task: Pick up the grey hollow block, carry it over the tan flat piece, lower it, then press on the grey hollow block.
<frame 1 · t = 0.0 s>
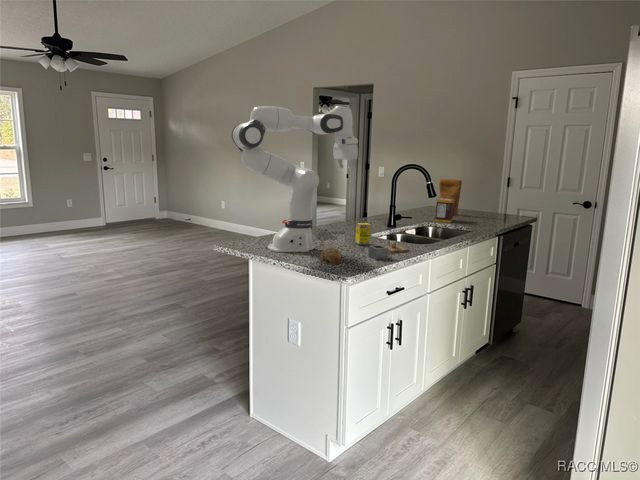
hand: (345, 168, 228), 39 cm above the worktop, tool pointing down, fingers open, 8 cm apart
grey hollow block: (377, 257, 212), on the worktop
supplement box: (362, 244, 240), on the worktop
tan flat piece: (393, 250, 229), on the worktop
pancake mix bag: (447, 214, 364), on the worktop
bread roll: (331, 262, 202), on the worktop
supplement box 2: (444, 220, 333), on the worktop
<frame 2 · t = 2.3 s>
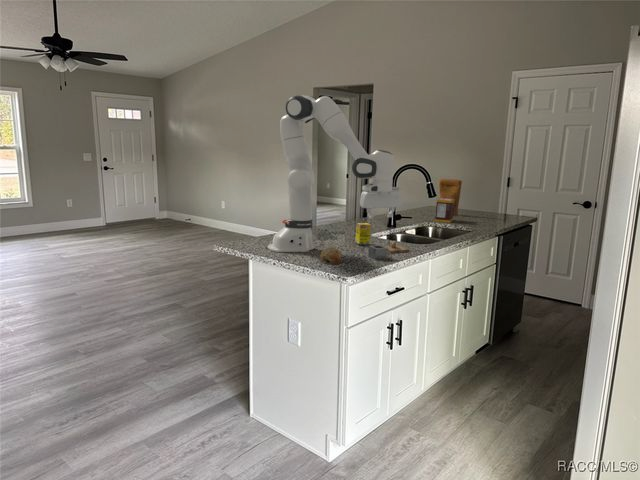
hand: (380, 217, 208), 19 cm above the worktop, tool pointing down, fingers open, 8 cm apart
nothing on the worktop moved.
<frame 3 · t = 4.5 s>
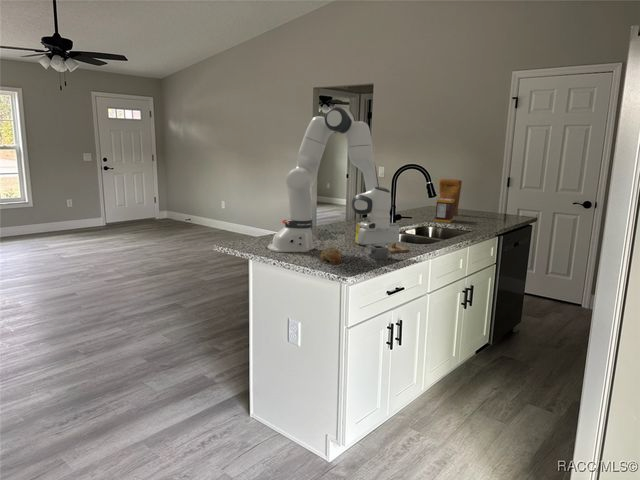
hand: (378, 253, 212), 2 cm above the worktop, tool pointing down, fingers closed on grey hollow block, 6 cm apart
grey hollow block: (377, 257, 212), on the worktop, touching gripper
everything else where it was.
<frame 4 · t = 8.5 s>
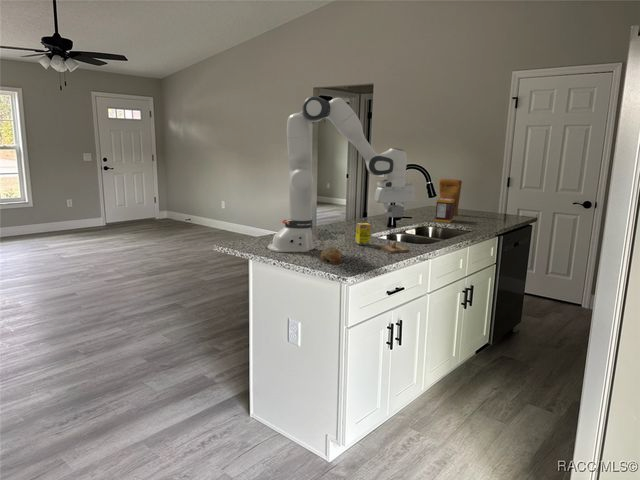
hand: (394, 211, 222), 20 cm above the worktop, tool pointing down, fingers closed on grey hollow block, 6 cm apart
grey hollow block: (394, 216, 222), point 18 cm above the worktop, touching gripper
everything else where it was.
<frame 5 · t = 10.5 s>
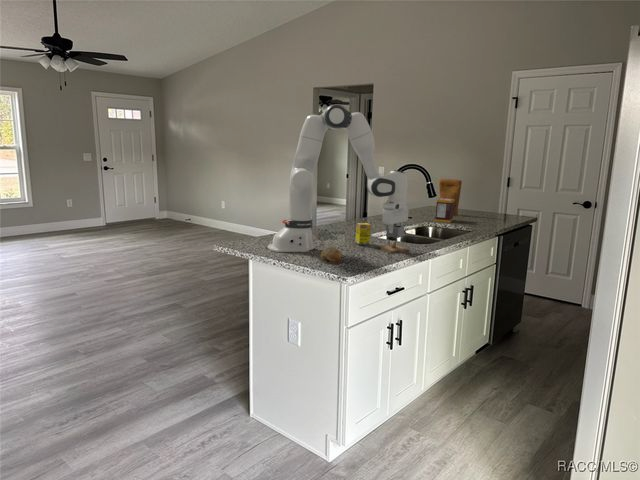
hand: (395, 231, 227), 9 cm above the worktop, tool pointing down, fingers closed on grey hollow block, 6 cm apart
grey hollow block: (395, 236, 228), point 7 cm above the worktop, touching gripper
everything else where it was.
when the fingers open (4 cm above the worktop, at t = 12.4 s): grey hollow block stays where it is, resting on tan flat piece.
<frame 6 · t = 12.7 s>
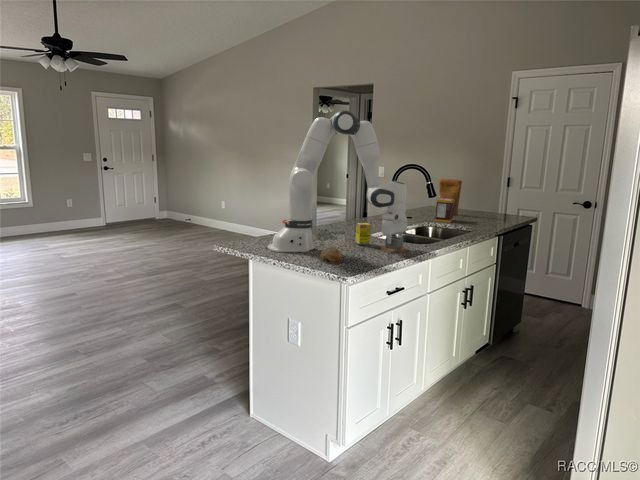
hand: (394, 242, 228), 4 cm above the worktop, tool pointing down, fingers open, 8 cm apart
grey hollow block: (393, 247, 229), point 1 cm above the worktop, touching tan flat piece
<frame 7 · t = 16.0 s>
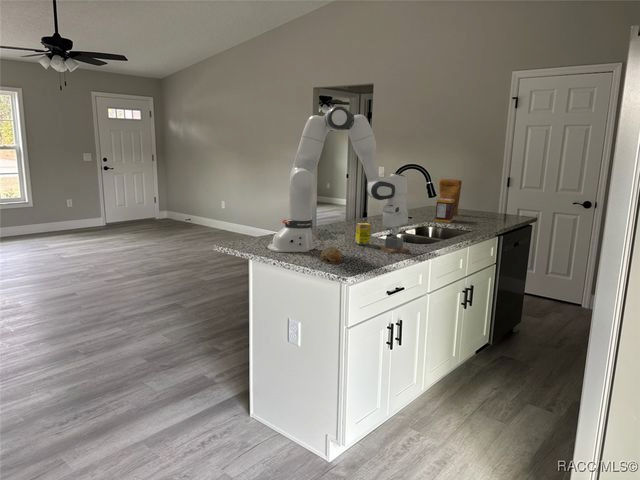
hand: (395, 234, 228), 8 cm above the worktop, tool pointing down, fingers closed
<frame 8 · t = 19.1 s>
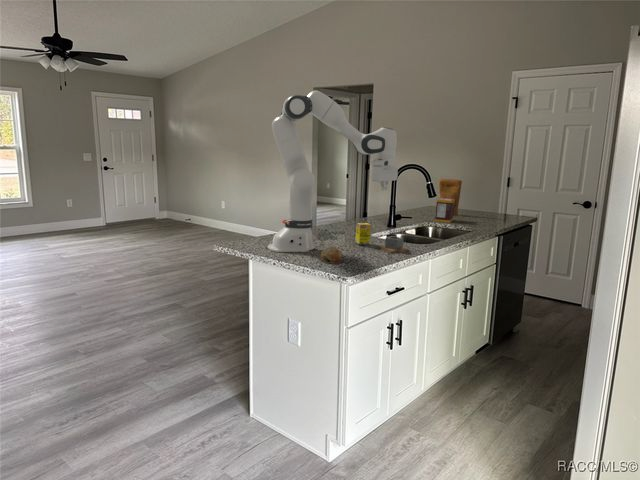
hand: (384, 190, 227), 29 cm above the worktop, tool pointing down, fingers closed
at the end: grey hollow block 0.1 cm from the tan flat piece (horizontally); grey hollow block point 1.2 cm above the worktop; the gripper is holding nothing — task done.
